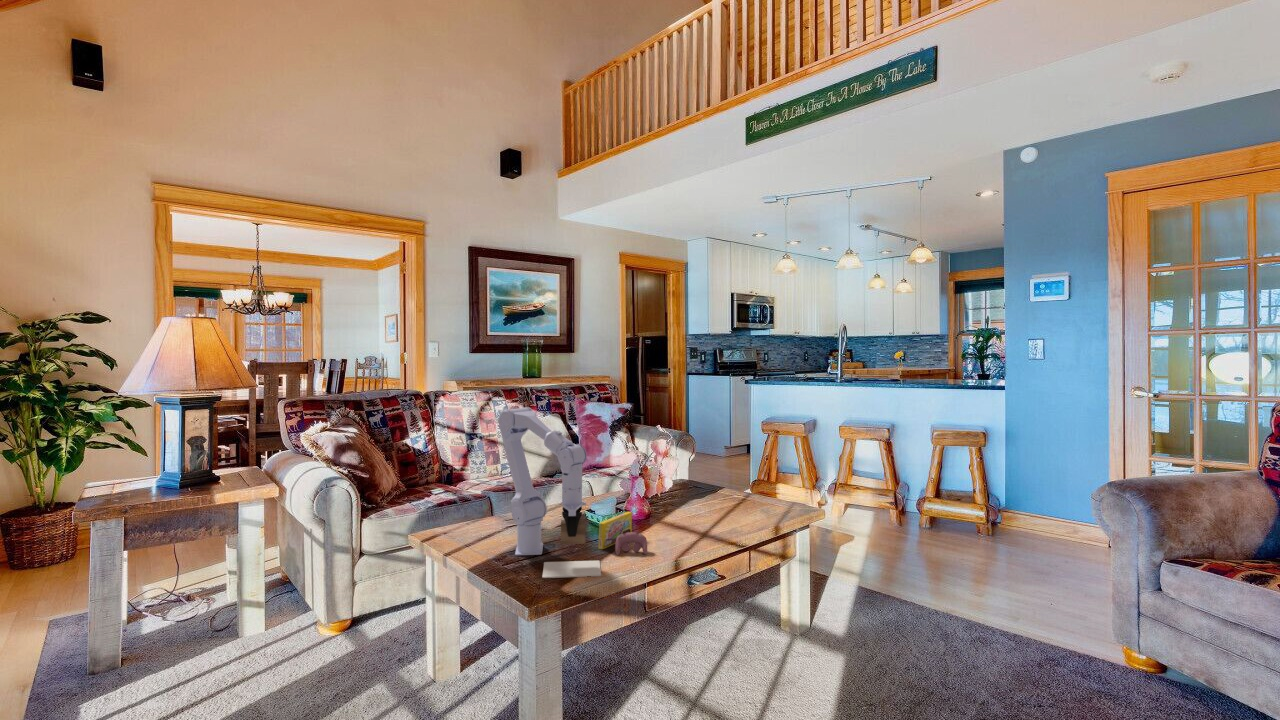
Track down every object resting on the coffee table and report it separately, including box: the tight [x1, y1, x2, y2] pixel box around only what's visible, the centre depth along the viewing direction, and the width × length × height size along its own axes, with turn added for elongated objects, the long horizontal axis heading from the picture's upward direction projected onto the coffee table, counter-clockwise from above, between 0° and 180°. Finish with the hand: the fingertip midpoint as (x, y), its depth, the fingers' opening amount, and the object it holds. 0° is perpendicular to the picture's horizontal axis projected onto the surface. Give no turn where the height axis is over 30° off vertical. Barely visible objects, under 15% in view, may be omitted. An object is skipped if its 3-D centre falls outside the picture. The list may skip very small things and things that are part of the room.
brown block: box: [560, 518, 587, 545], centre depth 177 cm, size 4×7×6 cm, turn 96°
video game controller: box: [614, 531, 648, 556], centre depth 188 cm, size 10×5×7 cm, turn 92°
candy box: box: [597, 511, 633, 550], centre depth 197 cm, size 16×2×8 cm, turn 147°
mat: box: [541, 560, 602, 579], centre depth 173 cm, size 11×16×1 cm
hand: (572, 534), depth 177 cm, fingers closed on brown block, 3 cm apart
